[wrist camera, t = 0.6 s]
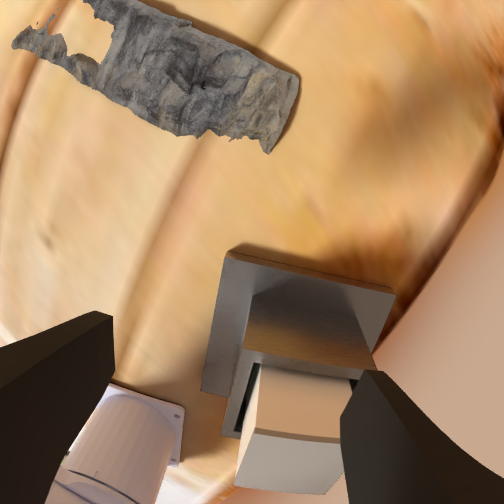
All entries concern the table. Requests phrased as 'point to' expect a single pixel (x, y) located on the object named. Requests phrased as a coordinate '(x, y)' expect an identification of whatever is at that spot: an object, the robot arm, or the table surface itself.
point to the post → (291, 431)
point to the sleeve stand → (288, 327)
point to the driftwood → (176, 74)
